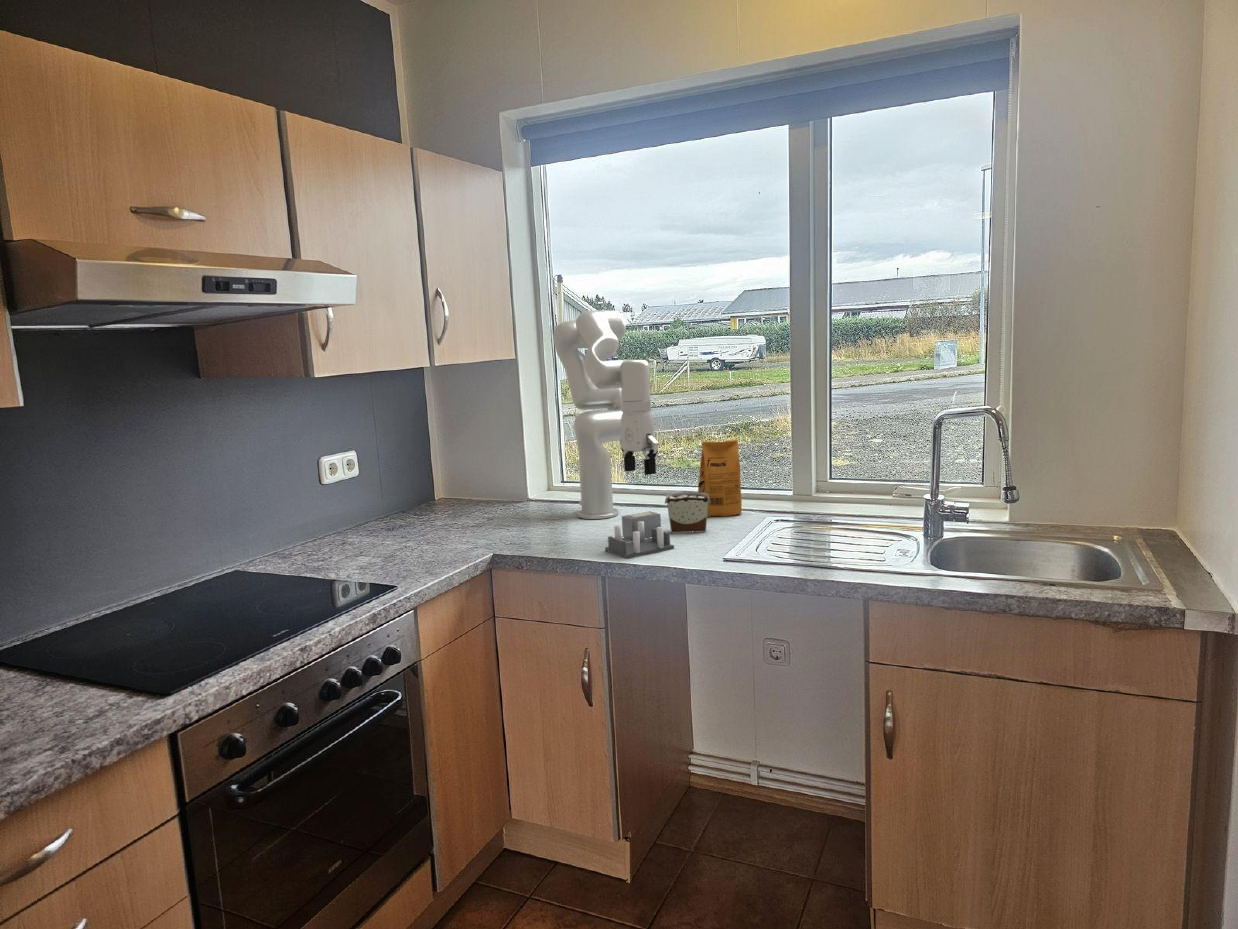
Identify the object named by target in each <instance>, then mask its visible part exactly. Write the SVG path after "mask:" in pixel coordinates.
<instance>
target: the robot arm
mask: <svg viewBox="0 0 1238 929" xmlns="http://www.w3.org/2000/svg"><path fill="white" fill-rule="evenodd" d="M626 330H627V323H626V320H625V317H624V316H623V314H622V312H620V311H619V310H614V309H606V310H600V309H599V310H586V311H584V312H582V313H580V314H579V315H578V316H577V318H576V319H575V320H567V321H566V320H565V321H563V322H560V323H558V324H557V325H556V326H555V328H554V331H553V343H554V344H553V345H554V348H555V352H556V354H557V356H558V359H559V361H560V362H561V364H562V366H563V369H564V371H565V374H566V378H567V382H568V388H569V392H570V395H571V401H572V403H573V405H574V407H575V408H576V409H578V410H582V411H583V412H581V413H579V414H578V415H577V416H576V417H575V419H574V421H573V429H574V433H575V439H576V444H577V451H578V464H579V466H578V467H579V483H580V498H581V499H580V500H579V501H578V504H579V505H580V506H581V509H580V510H578V511H577V512H576V516H577V518H580V519H582V520H583V519H584V520H601V519H602V520H603V519H609V518H614V517H616V516H617V515H619V509H618V508H615V507H614V501H613V499H614V498H613V496H614V495H613V480H612V462H611V461H612V460H611V456H610V452H609V451H608V450H607V449H606V448H605V447H604V446H603V443H606V442H617V441H619V442H618V443H619V445H620V451H622V456H623V465H624V468H623V469H624V471H625V472H635V471H636V455H634V454H635V453H640V452H641V453H642V455H643V457H644V459H643V466H644V467H643V470H644V471H643V472H644V475H647V476H649V475H654V474H655V475H656V473H657V464H656V459H657V454H658V450H659V446H660V443H659V441H658V440H656V439H655V429H654V421H653V417H652V403H651V402H652V400H651V398H652V397H651V385H650V384H651V383H650V366H649V362H648V361H647V360H645V359H613V360H612V359H610V358H612V357H613V356H614V355H615V354H616V352H617V350H618V349H619V345H620V344H619V341H620V340H621V339H622V338H623V337H624V336H625V333H626ZM579 349H586V351H585V354H584V353H583V352H581V351H580V350H579ZM608 359H610V360H608ZM587 410H588V411H587Z"/></svg>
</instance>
